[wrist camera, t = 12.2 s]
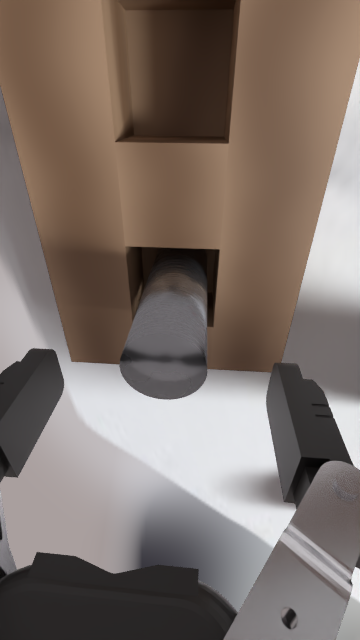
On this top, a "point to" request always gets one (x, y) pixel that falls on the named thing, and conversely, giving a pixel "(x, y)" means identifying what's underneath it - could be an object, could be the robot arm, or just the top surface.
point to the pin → (170, 327)
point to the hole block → (178, 154)
